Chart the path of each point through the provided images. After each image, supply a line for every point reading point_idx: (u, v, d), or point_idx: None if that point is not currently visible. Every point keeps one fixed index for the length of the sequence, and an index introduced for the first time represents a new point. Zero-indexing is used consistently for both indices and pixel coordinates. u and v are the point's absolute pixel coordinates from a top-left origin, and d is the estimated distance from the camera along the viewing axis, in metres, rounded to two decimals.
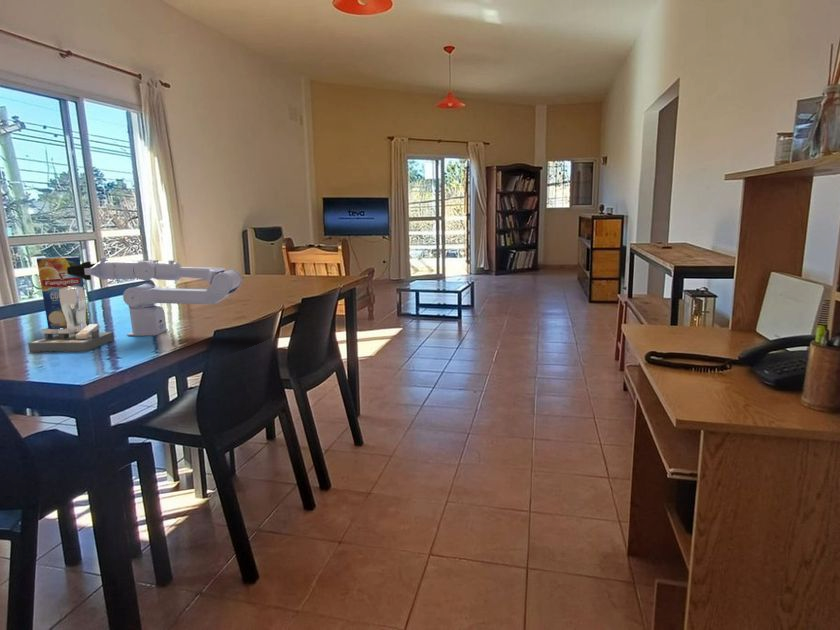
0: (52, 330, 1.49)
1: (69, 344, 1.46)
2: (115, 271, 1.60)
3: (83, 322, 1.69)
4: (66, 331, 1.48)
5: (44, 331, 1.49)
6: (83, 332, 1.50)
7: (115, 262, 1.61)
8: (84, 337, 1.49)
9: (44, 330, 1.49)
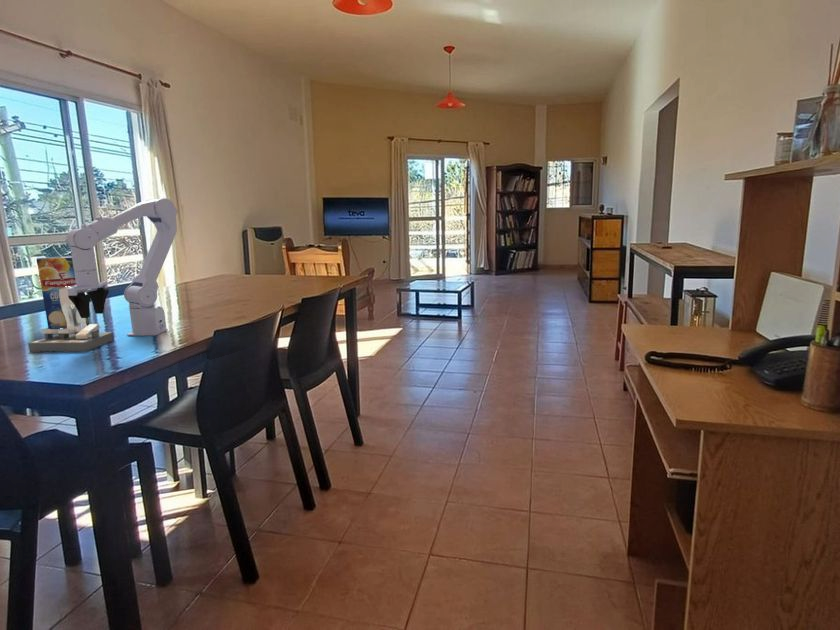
0: (52, 330, 1.49)
1: (69, 344, 1.46)
2: (90, 269, 1.49)
3: (83, 322, 1.69)
4: (66, 331, 1.48)
5: (44, 331, 1.49)
6: (83, 332, 1.50)
7: (74, 271, 1.50)
8: (84, 337, 1.49)
9: (44, 330, 1.49)
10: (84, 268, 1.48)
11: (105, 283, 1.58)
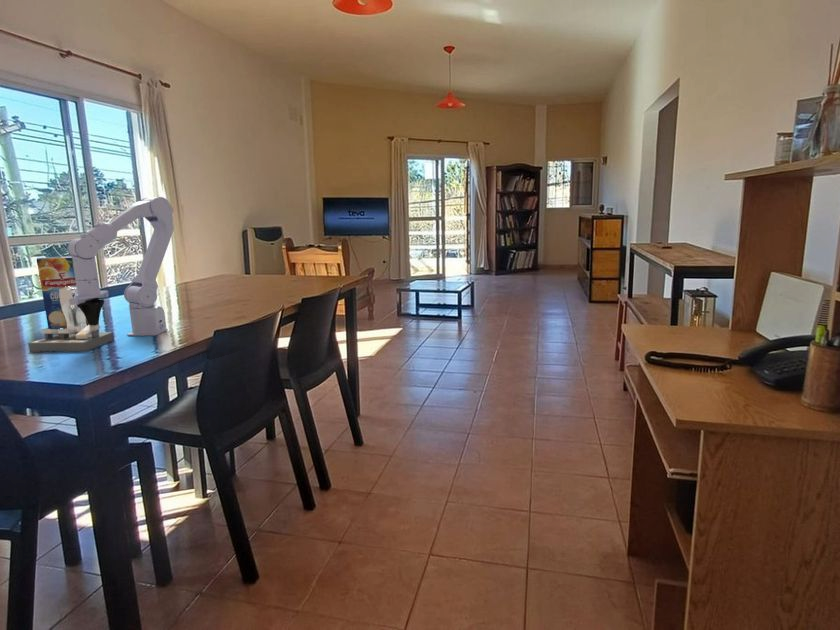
0: (52, 330, 1.49)
1: (69, 344, 1.46)
2: (91, 278, 1.50)
3: (83, 322, 1.69)
4: (66, 331, 1.48)
5: (44, 331, 1.49)
6: (83, 332, 1.50)
7: None
8: (84, 337, 1.49)
9: (44, 330, 1.49)
10: (85, 277, 1.49)
11: (106, 292, 1.59)
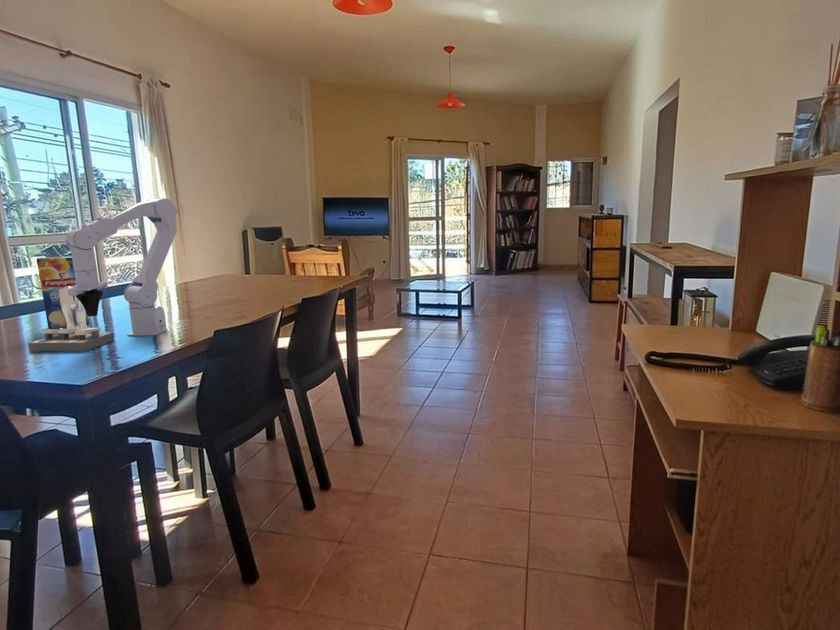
0: (52, 330, 1.49)
1: (69, 344, 1.46)
2: (90, 269, 1.49)
3: (83, 322, 1.69)
4: (66, 331, 1.48)
5: (44, 331, 1.49)
6: (83, 329, 1.50)
7: (74, 271, 1.50)
8: (83, 333, 1.48)
9: (44, 330, 1.49)
10: (84, 268, 1.48)
11: (105, 283, 1.58)
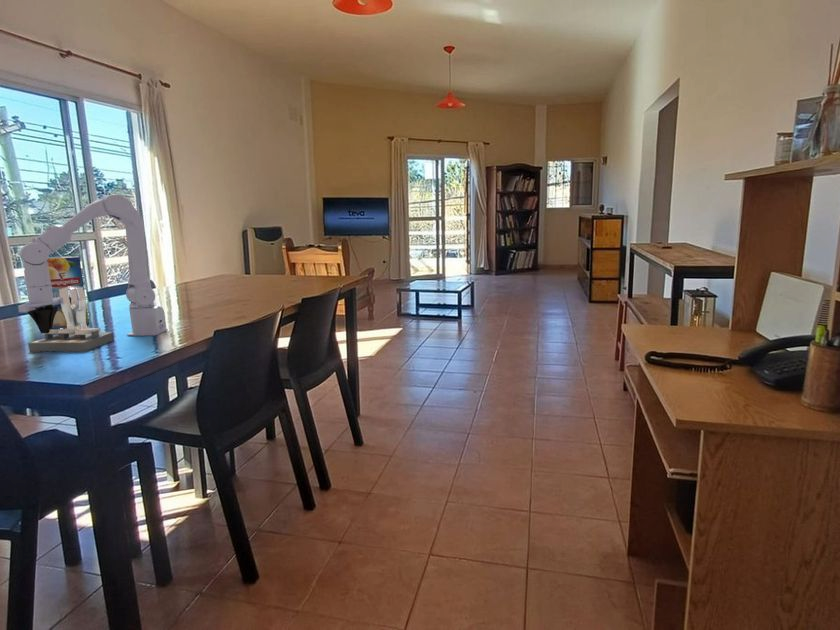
0: (52, 330, 1.49)
1: (69, 344, 1.46)
2: (40, 285, 1.44)
3: (83, 322, 1.69)
4: (66, 331, 1.48)
5: None
6: (83, 329, 1.50)
7: None
8: (83, 332, 1.48)
9: None
10: (34, 284, 1.43)
11: (61, 299, 1.53)
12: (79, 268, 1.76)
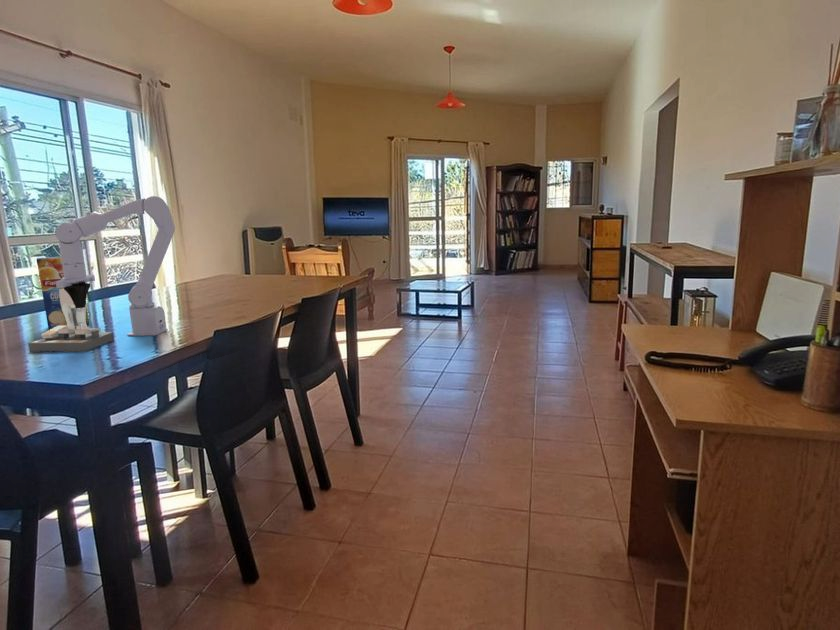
0: (52, 334, 1.49)
1: (69, 344, 1.46)
2: (72, 262, 1.53)
3: (83, 322, 1.69)
4: (66, 331, 1.48)
5: (45, 336, 1.49)
6: (83, 329, 1.50)
7: (62, 264, 1.54)
8: (83, 332, 1.48)
9: (44, 335, 1.49)
10: (66, 261, 1.52)
11: (93, 276, 1.62)
12: None
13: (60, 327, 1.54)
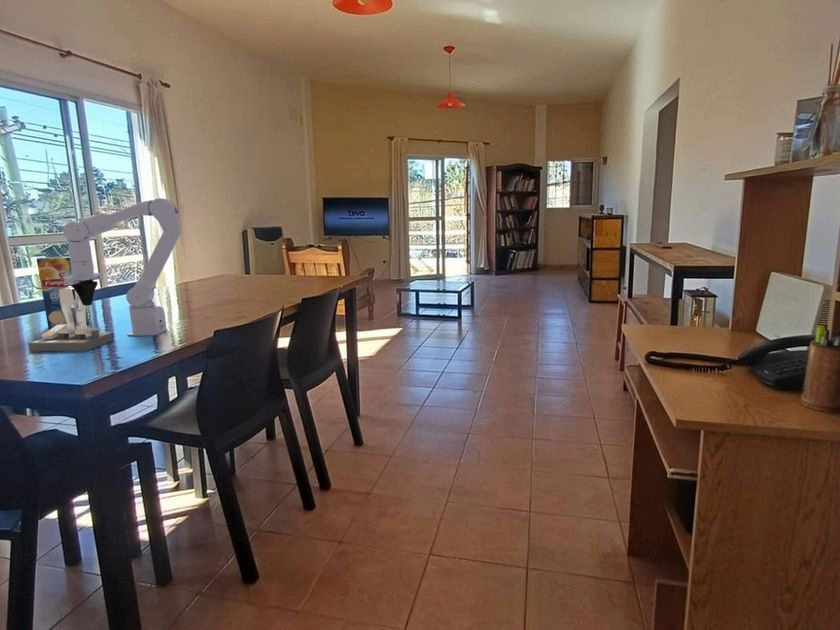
0: (52, 335, 1.49)
1: (69, 344, 1.46)
2: (79, 260, 1.55)
3: (83, 322, 1.69)
4: (66, 331, 1.48)
5: (45, 337, 1.49)
6: (83, 329, 1.50)
7: None
8: (83, 332, 1.48)
9: (45, 336, 1.49)
10: (73, 259, 1.55)
11: (100, 274, 1.65)
12: None
13: (60, 327, 1.53)
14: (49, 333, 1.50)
